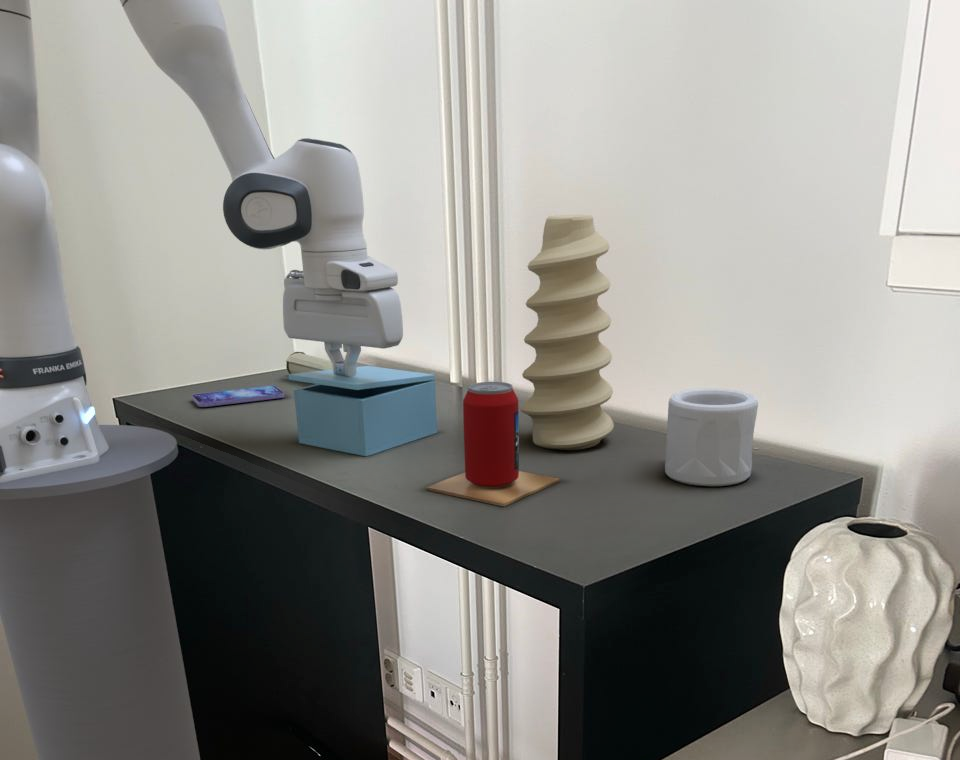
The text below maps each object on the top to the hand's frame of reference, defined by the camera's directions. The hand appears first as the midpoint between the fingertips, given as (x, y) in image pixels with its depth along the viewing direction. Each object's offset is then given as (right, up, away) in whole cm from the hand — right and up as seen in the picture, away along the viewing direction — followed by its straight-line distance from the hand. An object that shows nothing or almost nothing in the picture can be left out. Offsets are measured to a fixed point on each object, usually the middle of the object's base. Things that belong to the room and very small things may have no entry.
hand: (345, 375), depth 141 cm
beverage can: (+21, -18, -16) cm, 32 cm away
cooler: (+3, -7, +7) cm, 11 cm away
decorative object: (+32, -9, +3) cm, 33 cm away
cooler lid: (+2, 0, +3) cm, 4 cm away
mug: (+48, -16, -13) cm, 52 cm away
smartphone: (-23, +5, +33) cm, 41 cm away
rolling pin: (-8, +8, +40) cm, 42 cm away
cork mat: (+21, -18, -16) cm, 32 cm away
